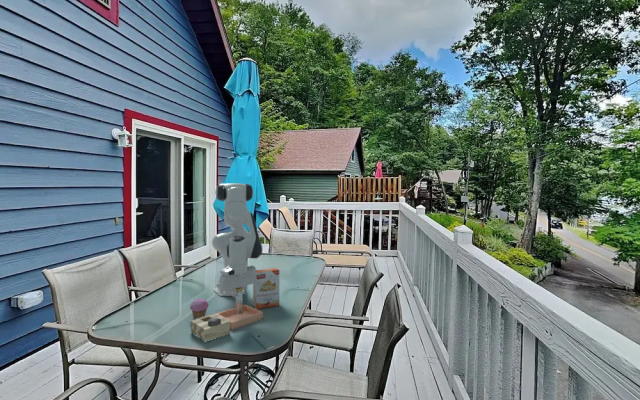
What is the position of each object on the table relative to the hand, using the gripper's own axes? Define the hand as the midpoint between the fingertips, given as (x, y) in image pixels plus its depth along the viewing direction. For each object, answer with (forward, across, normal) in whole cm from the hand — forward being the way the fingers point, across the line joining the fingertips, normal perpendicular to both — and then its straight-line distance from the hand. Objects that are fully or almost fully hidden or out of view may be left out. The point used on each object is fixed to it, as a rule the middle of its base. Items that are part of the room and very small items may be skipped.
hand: (239, 295), depth 169 cm
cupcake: (+13, +13, -17) cm, 25 cm away
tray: (+13, 0, 0) cm, 13 cm away
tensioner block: (+13, +18, +4) cm, 22 cm away
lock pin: (+9, 0, 0) cm, 9 cm away
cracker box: (+13, -21, -5) cm, 25 cm away
